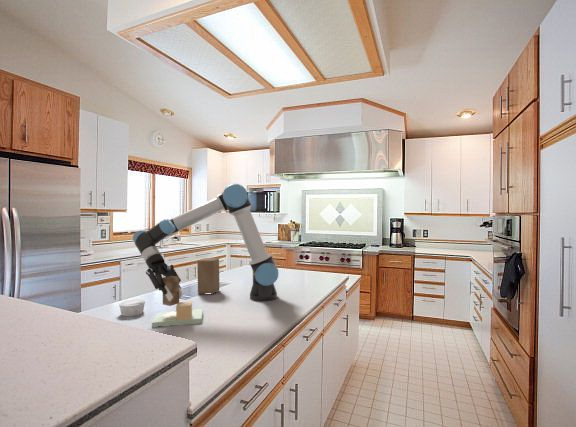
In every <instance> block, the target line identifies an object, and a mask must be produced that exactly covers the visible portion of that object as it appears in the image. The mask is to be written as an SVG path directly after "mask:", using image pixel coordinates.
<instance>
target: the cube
mask: <svg viewBox="0 0 576 427" xmlns="http://www.w3.org/2000/svg"><path fill="white" fill-rule="evenodd" d="M175 309H176V310H175V311H176V320H188V319H191V317H192V310H193V301H183V302H181V301H179V303H177V304H176V306H175Z"/></svg>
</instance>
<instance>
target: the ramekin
mask: <svg viewBox="0 0 576 427" xmlns="http://www.w3.org/2000/svg"><path fill="white" fill-rule="evenodd" d="M145 304H146V300H144V299H130V300H124V301H122V302H120V303H119V310H120V314H121V315H122V316H123V317H133V316H139V315H141V314H143V312H144V310H145Z"/></svg>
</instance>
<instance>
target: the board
mask: <svg viewBox="0 0 576 427" xmlns="http://www.w3.org/2000/svg"><path fill="white" fill-rule="evenodd" d="M203 312H204V309H203V308H202V309H201V308H200V309H199V308H198V309H192V317H191V319H188V320H176V310H175V311H173V310H172V311H162V312H161V311H160V312H157V313H156V315H155V317H154V319H153V320H152V322H151V327H152V328H159V327H158V326H163V327H170V326H169V325H173V326H172V327H174V325H175V326H183V325H196V324H198V325H199V324H202V322H203V321H202V320H203V315H204V314H203Z"/></svg>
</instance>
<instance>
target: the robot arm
mask: <svg viewBox="0 0 576 427" xmlns="http://www.w3.org/2000/svg"><path fill="white" fill-rule="evenodd" d="M251 208H252V204H251V201H250V199H249V196H248V191H247V189H246V188H245V187H244V186H243V185H242V184H239V183H232V184H229V185H227V186H225V188H224V189H223V191H222V192H221V193H220V194H217V195H216V198H213V199H211V200H209V201H207V202H204V203H203V204H201V205H198V206H196V207H194V208H192V209H190V210H187V211H186V212H184V213H182V214H179V215H177V216H175V217H172V218H171V219H169V218H164V219H163V220H160V221H159V223H156V225H154V226H153V227H151V228H150V229H148V230H145V229H140V230H139V231H136V232H135V233H133V235H132V240H133V243H134V246H136V248H137V250H138V251H139V253H140V255H141V257H142V258H143V261H144V262H145V263H146V266H147V267H148V268H147V270H146V271H145V274H146V275H147V276H148V278H149V280H150V282H151V283H152V284H153V287H154V289H155V290H158V291H161V292H162V295H163V294H164V295H166V297H167V299H168V300H169V301H171V300H172V298H173V296H172V294H171V292H170V291H169V289H168V287H167V286H164V282H163V277H168V276H177V277H179V299H182V297H183V296H184V292H183V290H182V287H181V285H180V283H181V281H182V279H181V277H180V276H179V275H178V273H177V272H176V270H175V269H174V265H173V264H171V265H168V264H167V263H165V262H166V261H165V258H164V256H163V255H162V254H161V252H160V251H159V249H158V246H156V245H157V244H159V242H162V240H164V239H166V238H168V237H170V236H173V235H174V234H177V233H178V232H180V231H182V230H184V229H186V228H189V227H190V226H193V225H195V224H197V223H199V222H201V221H203V220H205V219H208V218H210V217H212V216H213V215H217V214H218V213H220V212H222V211H223V212H227V211H228V212H229V215H231V216H233V217H234V219H235V222H236V225H237V227H238V230H239V232H240V234H241V237H242V240H243V242H244V245H245V247H246V250H247V252H248V254H249V257H250V261H249V262H250V263H249V265H250V267H251V270H252V286H251V289H250V293H249V299H250V300H252V301H256V302H266V301H267V302H268V301H272V300H276V299H277V298H278V292H277V290H276V286H275V283H276V281H277V280H278V278H279V269H278V267H277V266H276V265H275V261H274V257H273V256H272V254H270V253H268V252H267V250H266V246H265V244H264V242H263V240H262V237H261V234H260V232H259V230H258V227H257V223H256V222H255V219H254V217H253V214H252V212H251Z"/></svg>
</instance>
